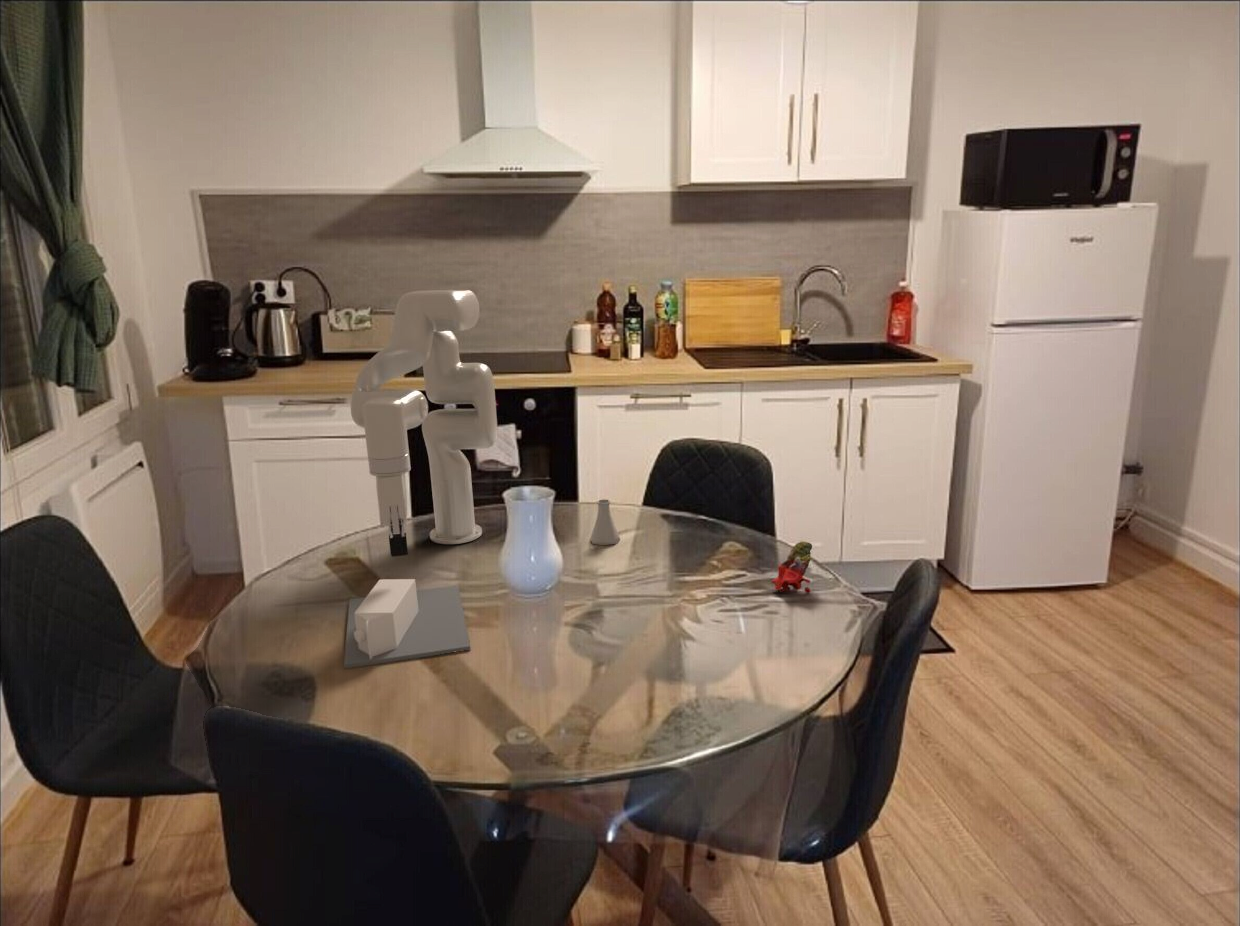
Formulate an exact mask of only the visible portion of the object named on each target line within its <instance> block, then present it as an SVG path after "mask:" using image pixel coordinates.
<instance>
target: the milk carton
mask: <svg viewBox="0 0 1240 926" xmlns="http://www.w3.org/2000/svg"><path fill="white" fill-rule="evenodd" d="M416 591H417V584H416V579H414V578H398V579H397V578H394V579H393V578H392V579H391V578H390V579H387V578H386V579H379V580H378V581H377V582H376V583H375V585H373V587H372V589H371V590H370V591H369V593H368V594H367V595H366V596H365V597H366V598H365V599H364V601H363V602H362V603H361V605H360V606H359V607H358V609H357V610H356V611H355V613H354V615H355V624H356V631H355V632H354V637H355V639H356V641H357V642H358V647H359V649H360V650H362V651H364V652H365V653H367V654H369V656H370V659H372V657H373V656H376V655H379V654H382V653H385V652H388V651H390V650H393V649H396V648H397V647H398V645H399V643H400V642H401V640H402V638H403V637H404V635H405V633H406V632H407V630H408V628H409V627H410V625H411V623H412V622H413V620H414V618H415V617H416V615H417V613H418V602H417V592H416Z"/></svg>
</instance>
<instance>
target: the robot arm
mask: <svg viewBox="0 0 1240 926" xmlns="http://www.w3.org/2000/svg"><path fill="white" fill-rule="evenodd" d="M394 312H395V313H394V317H393V320H392V326H391V331H390V335H389V337H388V338H389V339H388V343H387V346H386V347H384V348H383V349H381V350H380V351H379V352H377V353H376V354H375V355H373V357H371V358H370V359H369V360H368V361H367V362H366V363H365V364H364V365H363V366H362V367H361V369H360V370H359V372H358V374H357V376H356V379H355V384H354V385H353V387H354V388H353V392H352V394H351V395H352V396H351V402H350V414H351V418H352V420H353V422H354V423H355V424H356V425H357V426H358V427H360V428H362V429H364V434H365V444H366V445H365V446H366V452H367V458H368V459H367V460H368V470H369V474H370V475H371V476H373V477H375V485H376V497H377V506H378V513H379V515H378V516H379V524H380V527H381V528H385V527H387V526H388V530H389V531H388V532H389V534H388V541H389V552H390V557H392V558H394V557H401V556H408V554H409V550H408V542H407V533H406V532H405V525H406V524H407V519H408V518H407V517H408V502H407V501H408V500H407V499H408V498H407V486H406V485H407V484H406V475H405V474H406V473H408V472H410V471H412V470H411V469H412V467H411V457H410V449H409V440H408V430H411V429H416V428H417V427H419V426H420V425H421V432H422V437H423V439H424V443H425V447H426V452H427V456H428V463H429V470H430V471H429V473H430V481H431V484H430V485H431V492H432V502H433V503H432V504H433V515H434V523H435V528H433V529H431V531H430V532H429V538H430V540H431V541H432V542H434V543H436V544H441V545H459V544H466V543H469V542H472V541H474V540H477V539H478V538H480V537H481V536H482V534H483V527H481V526H480V525H478V524H477V523H476V520H475V519H476V518H475V508H474V495H473V485H472V471H471V470H472V469H471V465H470V462H469V459H468V458H467V457H466V455H465V454H464V453H463V452H462V451H461V450H481V449H490V448H492V447H494V445H495V444H496V443H497V439H498V418H497V417H498V416H497V404H496V391H495V381H494V376H493V372H492V370H491V369H490V367H489V365H487V364H486V363H485V364H484V363H482V362H462V361H461V359H460V350H459V348H460V347H459V341H458V339H457V337H456V336H455V334H454V333H453V332H461V331H463V332H464V331H466V330H470V329H472V328H474V327H475V326H476V324H477V322H478V320H479V319H480V304H479V300H478V298H477V296H476V294H475V293H474V292H473V291H471V290H470V289H445V290H441V289H440V290H437V289H434V290H431V289H430V290H418V291H417V290H415V291H410V292H406V293H405V294H402V296H401V297H400V298H399V299H398V301H397V304H396V307H395V311H394ZM421 367H422V370H423V379H424V381H423V382H424V389H425V394H426V395H424V394H423V393H422V392H421V391H420V390H417V389H414V388H413V389H411V388H389V389H388V388H384V389H383V388H381V387H382V386H383V385H385V384H386V383H388V382H389V381H392V380H394V379H396V378H398V377H401V376H404V375H406V374H409V373H411V372H414V371H415V370H416V371H417V370H418V369H420V368H421ZM426 397H427V398H426ZM427 399H428V400H427ZM428 401H430V402H431V403H434V404H436V405H437V404H438V405H466V404H467V405H472V406H473V407H474V408H442V409H441V408H440V409H436V410H432V411H429V404H428V403H429V402H428Z"/></svg>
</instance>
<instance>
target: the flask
mask: <svg viewBox="0 0 1240 926" xmlns="http://www.w3.org/2000/svg"><path fill="white" fill-rule="evenodd" d="M596 503H597V515H596V516H597V517H596V519H595V520H596V521H595V522H594V527H593V530H592V533H591V536H590V538H589V540H590V543H592V544H593V545H597V546H599V545H600V546H608V545H614V544H617V543H618V542H619V541H621V537H620V534H619V532H618V530H617V528H616V525H615V523H614V520H613V518H612V515H611V510H610V505H611V500H610V499H608V498H601V499H597V501H596Z"/></svg>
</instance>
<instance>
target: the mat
mask: <svg viewBox="0 0 1240 926" xmlns="http://www.w3.org/2000/svg"><path fill="white" fill-rule="evenodd" d="M416 592H417V602H418V613H417V615H416V617H415V618H414V620H413V622H412V623H411V625H410V627H409V628H408V630H407V632H406V633H405V635H404V637H403V638H402V640H401V642H400V643H399V645H398V647H397V648H396V649H393V650H390V651H388V652H385V653H382V654H379V655H376V656H373V657H372V659H370V656H369V654H367V653H365V652H364V651H362V650H360V649H359V647H358V642H357V641H356V639H355V637H354V632H355V631H356V624H355V615H354V613H355V611H356V610H357V609H358V607H359V606H360V605H361V603H362V602H363V601H364V599H365V598H366V597H367V596H364V597H363V596H362V597H357V598H350V599H349V601H348V602H349V603H348V604H349V605H348V613H347V614H348V615H347V625H346V637H345V638H346V639H345V648H344V657H343V658H344V659H343V667H344V669H350V668H359V667H364V666H366V667H367V666H372V665H378V664H384V663H385V664H386V663H392V662H399V661H406V660H411V659H419V658H424V657H425V658H426V657H427V658H428V657H433V656H441V655H446V654H445V653H447V654H451V653H450V652H454V651H461V652H463V651H462V650H468V651H470V650H469V649H471V643H470V638H469V633H468V627H467V623H466V619H465V618H466V617H465V613H464V608H463V603H462V598H461V593H460V588H459V585H458V584H456V585H450V586H441V587H440V586H439V587H435V588H434V587H433V588H428V589H419V590H417V589H416ZM454 653H455V652H454ZM440 654H441V655H440Z"/></svg>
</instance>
